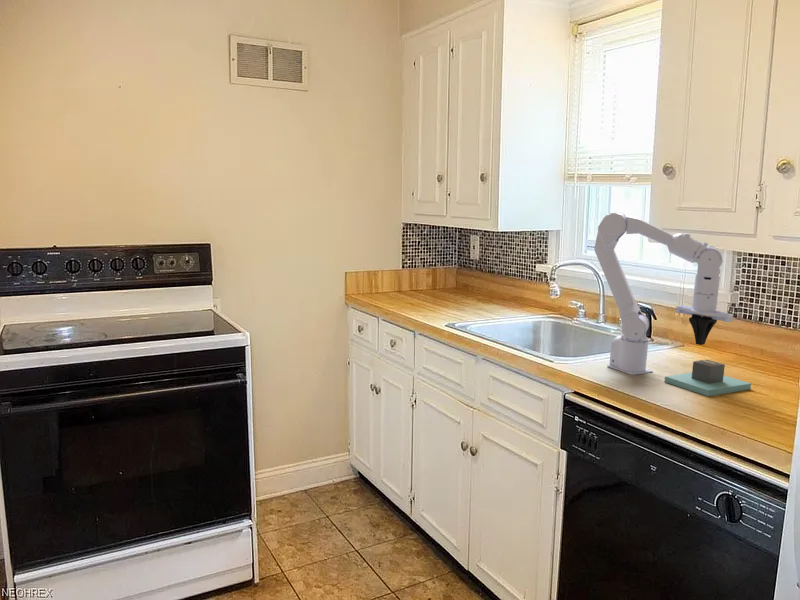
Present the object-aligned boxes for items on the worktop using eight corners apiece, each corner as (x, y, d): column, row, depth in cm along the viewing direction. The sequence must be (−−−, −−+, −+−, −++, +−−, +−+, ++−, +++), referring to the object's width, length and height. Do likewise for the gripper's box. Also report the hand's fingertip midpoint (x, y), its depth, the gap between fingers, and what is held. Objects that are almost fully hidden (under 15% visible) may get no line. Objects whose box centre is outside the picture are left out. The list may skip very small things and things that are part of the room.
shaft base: (664, 381, 168) (666, 365, 167) (705, 375, 175) (707, 359, 174) (708, 396, 156) (710, 378, 155) (750, 389, 163) (752, 371, 163)
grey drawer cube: (691, 378, 166) (693, 360, 165) (705, 376, 169) (707, 358, 168) (709, 383, 162) (711, 365, 161) (722, 381, 164) (724, 363, 163)
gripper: (671, 290, 171) (666, 340, 174) (724, 298, 160) (718, 351, 162) (686, 288, 175) (681, 337, 178) (739, 296, 164) (733, 348, 166)
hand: (700, 344), depth 170 cm, fingers closed
